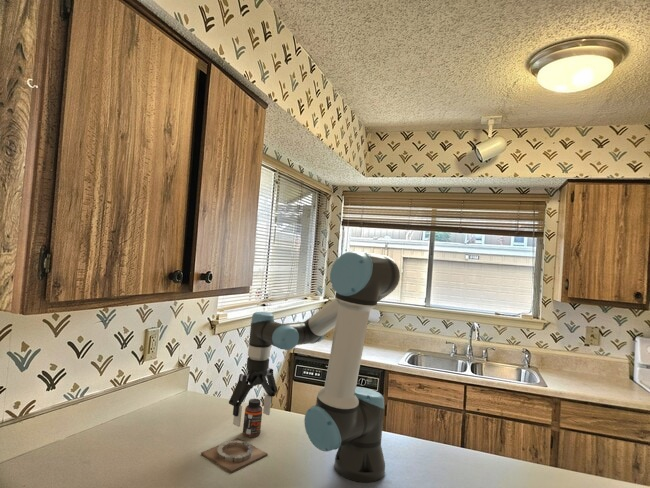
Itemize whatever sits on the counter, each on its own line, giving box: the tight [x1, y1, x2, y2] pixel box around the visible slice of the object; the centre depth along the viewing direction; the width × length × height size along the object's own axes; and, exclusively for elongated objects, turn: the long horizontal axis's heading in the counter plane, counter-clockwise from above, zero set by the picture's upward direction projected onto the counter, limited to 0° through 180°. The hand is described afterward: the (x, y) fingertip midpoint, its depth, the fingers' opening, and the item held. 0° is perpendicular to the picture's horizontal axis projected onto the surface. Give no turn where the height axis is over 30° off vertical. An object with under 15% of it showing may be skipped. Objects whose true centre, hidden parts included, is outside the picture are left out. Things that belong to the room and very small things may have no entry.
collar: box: [217, 440, 253, 462], centre depth 116 cm, size 11×11×1 cm
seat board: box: [200, 437, 268, 474], centre depth 116 cm, size 14×14×1 cm
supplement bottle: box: [242, 398, 263, 438], centre depth 130 cm, size 6×6×11 cm
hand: (252, 419), depth 131 cm, fingers open, 13 cm apart
